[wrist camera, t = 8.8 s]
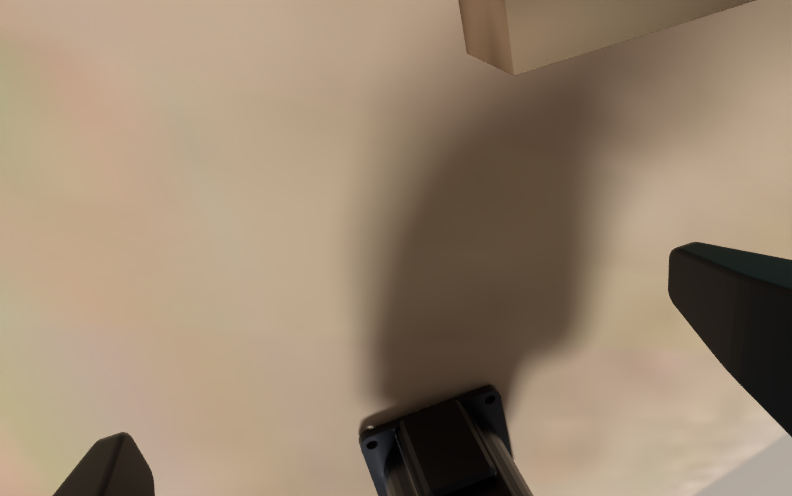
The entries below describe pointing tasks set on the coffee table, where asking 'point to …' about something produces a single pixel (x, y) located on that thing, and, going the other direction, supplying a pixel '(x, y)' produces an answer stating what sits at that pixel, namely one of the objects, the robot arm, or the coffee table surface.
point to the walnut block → (567, 26)
